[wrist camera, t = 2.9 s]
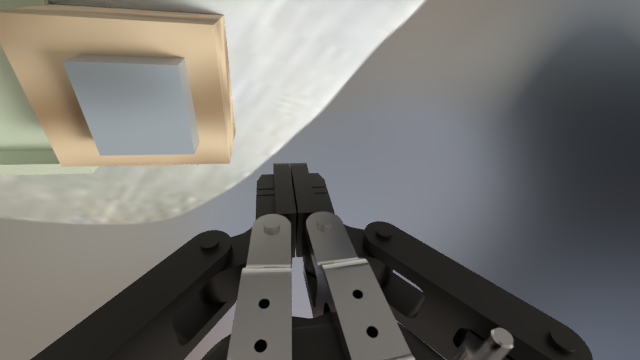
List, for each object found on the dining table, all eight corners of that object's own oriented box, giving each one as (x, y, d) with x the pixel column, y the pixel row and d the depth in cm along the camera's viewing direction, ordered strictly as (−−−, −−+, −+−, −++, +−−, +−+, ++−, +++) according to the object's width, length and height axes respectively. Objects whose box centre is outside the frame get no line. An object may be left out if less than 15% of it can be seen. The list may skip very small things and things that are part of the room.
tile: (80, 53, 18) (62, 61, 16) (185, 57, 19) (177, 65, 17) (112, 142, 21) (100, 155, 20) (199, 141, 22) (194, 154, 21)
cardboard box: (49, 3, 21) (-16, 11, 16) (223, 15, 23) (213, 25, 18) (98, 132, 26) (61, 166, 22) (235, 131, 28) (229, 163, 24)
